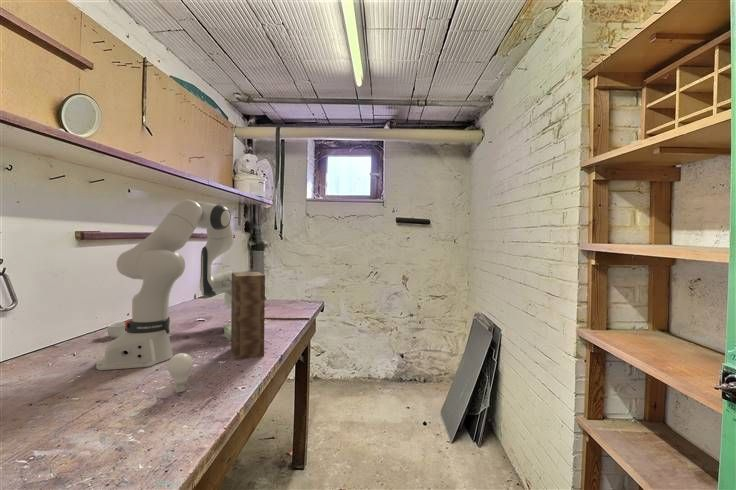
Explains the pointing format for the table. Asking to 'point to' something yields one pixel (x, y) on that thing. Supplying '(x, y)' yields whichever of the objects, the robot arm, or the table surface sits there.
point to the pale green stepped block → (227, 331)
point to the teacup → (116, 329)
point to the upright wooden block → (247, 314)
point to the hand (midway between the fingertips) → (239, 278)
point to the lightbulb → (180, 370)
